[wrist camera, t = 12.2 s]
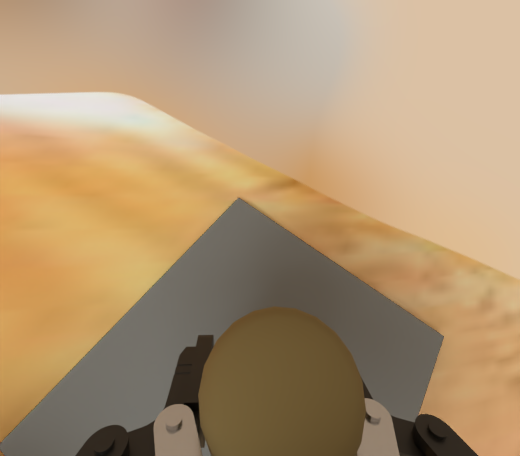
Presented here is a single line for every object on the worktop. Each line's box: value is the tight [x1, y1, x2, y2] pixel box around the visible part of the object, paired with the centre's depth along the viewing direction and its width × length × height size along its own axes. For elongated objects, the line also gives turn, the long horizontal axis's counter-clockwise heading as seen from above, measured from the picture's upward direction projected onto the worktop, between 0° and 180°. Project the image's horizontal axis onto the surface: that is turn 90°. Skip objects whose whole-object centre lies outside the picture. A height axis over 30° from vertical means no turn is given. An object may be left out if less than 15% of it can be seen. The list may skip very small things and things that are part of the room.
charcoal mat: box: [0, 198, 444, 456], centre depth 18 cm, size 22×20×1 cm
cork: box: [198, 306, 366, 456], centre depth 12 cm, size 6×6×11 cm
